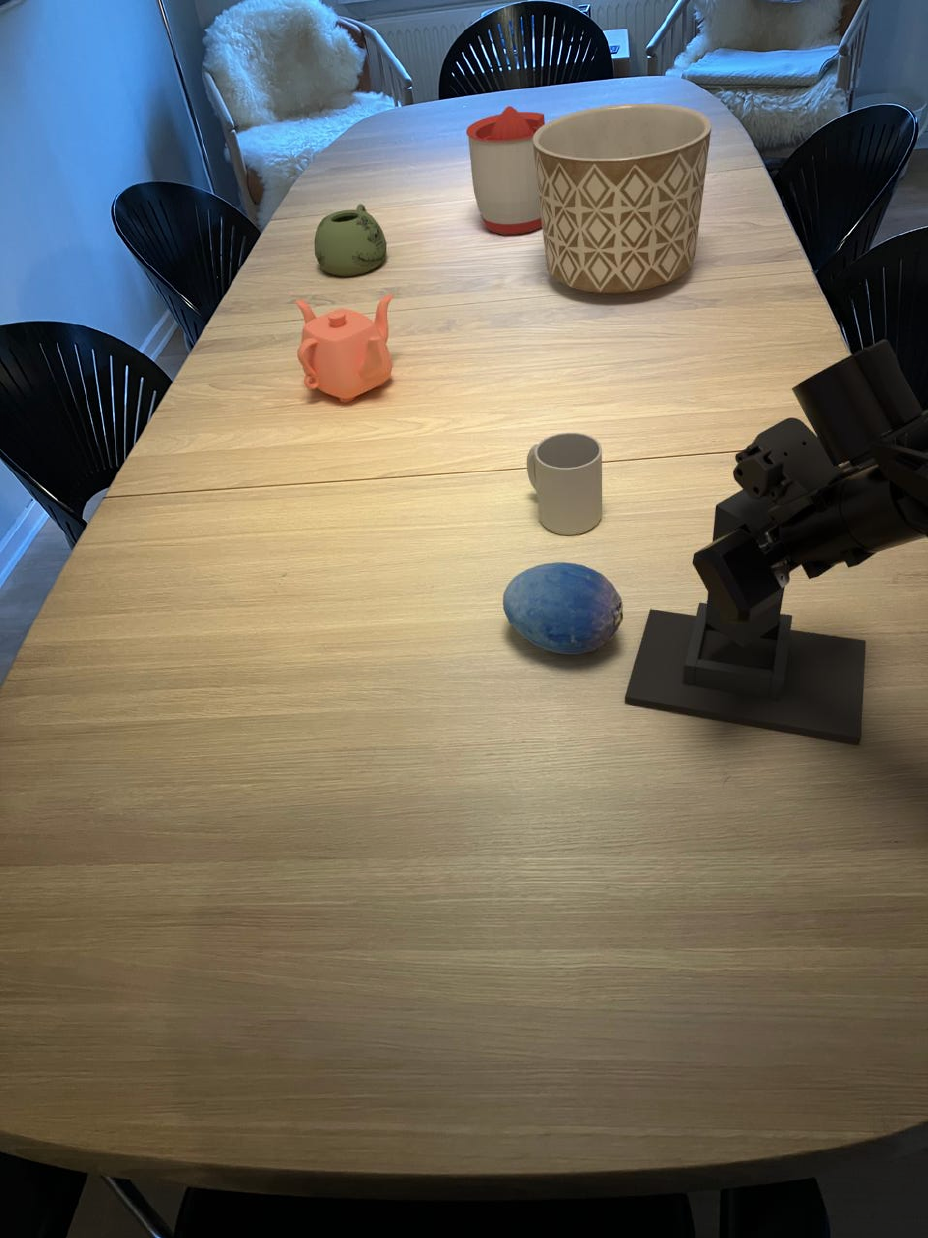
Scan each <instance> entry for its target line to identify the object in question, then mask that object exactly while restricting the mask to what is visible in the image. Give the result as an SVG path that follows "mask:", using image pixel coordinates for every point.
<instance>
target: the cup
mask: <svg viewBox="0 0 928 1238" xmlns="http://www.w3.org/2000/svg"><path fill="white" fill-rule="evenodd" d="M526 455H527V456H526V462H525V463H526V472H527V476H528V480H529V481H530V484H531V486H532V488H533V489H534V491H535V492H536V494H537V509H538V517H539V520H540V522H541V524H542V525H543V526H544V528H546V529H548V531H550V532H553V533H554V534H558V535H563V536H564V535H565V536H575V535H580V534H583V533H587V532H588V531H590V530H592V529H593V528H595V527H596V526H597V525H598V524H599V523H600V520H601V519H602V516H603V448H602V445H601V443H600V442H599V441H598V439H596V438H594V437H593V436H592V435H588V434H585V433H580V432H562V433H556V434H552V435H550V436H548V437H546V438H544V439H543V440H541V441H540V442H539V443H538V444H536V443H535V444H534V445H532V446H531V447H530V449H529V451H528V452H527V454H526Z"/></svg>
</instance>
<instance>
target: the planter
mask: <svg viewBox="0 0 928 1238" xmlns="http://www.w3.org/2000/svg"><path fill="white" fill-rule="evenodd" d="M711 134H712V122H711V120H710V118H709V117H708V116H707V115H705V114H704V113H702V112H700V111H698V110H695V109H692V108H689V107H685V106H680V105H674V104H664V103H623V104H612V105H605V106H597V107H591V108H587V109H582V110H579V111H575V112H572V113H567V114H565V115H562V116H559V117H557V118H555V119H552V120H550V121H548V122H545V125H543V126H542V127H540V128H539V129H538V130H537V131H536V132H535V134H534V136H533V149H534V157H535V166H536V175H537V184H538V193H539V202H540V211H541V220H542V228H541V229H542V238H543V246H544V254H545V255H544V256H545V261H546V262H545V265H546V268H547V270H548V273H549V274H550V275H551V276H552V277H553V278H554V280H556V281H557V282H559V283H560V284H562V285H564V286H567V287H570V288H572V289H577V290H581V291H585V292H590V293H593V294H594V293H595V294H598V295H609V296H610V295H611V296H612V295H613V296H619V295H630V294H636V293H639V292H644V291H647V290H649V289H653V288H656V287H660V286H662V285H665V284H668V283H670V282H673V281H674V280H676V279H678V278H679V277H681V276H682V275H684V274H685V273H686V272H687V271H688V270H689V269H690V268H691V266H692V265H693V263H694V261H695V258H696V253H697V252H696V251H697V244H698V235H699V228H700V222H701V221H700V220H701V212H702V205H703V204H702V203H703V197H704V189H705V181H706V173H707V165H708V158H709V151H710V149H709V148H710V142H711Z"/></svg>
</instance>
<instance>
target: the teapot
mask: <svg viewBox="0 0 928 1238" xmlns="http://www.w3.org/2000/svg"><path fill="white" fill-rule="evenodd" d="M393 297H394V293H389V294H387V295H385V296H383V297H382V298H381V299H380V300H379V302H378V304H377V307H376V310H375V311H376V312H375V318H374V321H373V320H372V319H371V318H370V317H368V316H367V315H365V314H363V313H360V312H357V311H355V310H351V309H348V308H338V309H335V310H332V311H330V312H327V313H325V314H323V315H321V316H317V317H316V313H314V311H313V309H312V308H311V307H310V305H309V304H308V303H307V302H306V301H304V300H302V299H296V300H295V304H296V306H298V309H299V310H300V311H301V314H302V316H303V319H304V324H303V326H302V330H301V339H300V340H301V342H300V345H299V346H298V348H297V351H296V355H297V359H298V362H299V364H300V365H301V366H302V370H303V372H304V375H305V376H304V378H303V384H304V386H305V387H306V389H310V390H315V389H316V388H317V389H318V390H319V391H321V392H323V393H325V394H328V395H329V396H330V395H331V396H333V397H336V398H339V402H341V403H350V402H352V401H354V400H355V398H356V397H357V396H359V395H362V394H364V393H366V392H368V391H370V390H372V389H374V388H379V387H382V386H383V385H384V384H385V382H386V381H388V380H390V377H391V375H392V370H393V362H392V357H391V353H390V351H389V348H388V345H387V342H388V340H389V322H388V308H389V305H390V302H391V300H392V299H393Z"/></svg>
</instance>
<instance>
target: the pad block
mask: <svg viewBox="0 0 928 1238" xmlns="http://www.w3.org/2000/svg"><path fill="white" fill-rule="evenodd" d="M776 506H778V504H777V503H775V502H773V501H771V500H770V499H769V498H768V497H762V498H761V499H759V500H755V499H752V498H751V497H750V496H749V495H748V494H747V493H746V492H745V491H744V490H743V488H741V490H739V491H737V492H735V493H734V494H732V495H731V496H728V497H727V498H725V499H724V500H722V501H720V502H719V503H717V504H716V505H715V510H714V522H713V533H712V542H714V541H715V540H717V539H719V538H721V537H723V536H725V535H726V534H728V533H730V532H731V531H733V530H735V529H736V528H738V527H740V526H741V525H743V524H745V523H746V524H747V526H748V528H749V530H750V532H751V534H752V535H753V536H754V538H755V539H756V541H758V542H759V544H760V545H759V546H761V545H763V544H766V543H769V542H768V540H767V539H766V537H765V533H766V532H767V531H769V530H770V529H772V528H774V527H775V526H774V524H773V522H772V521H771V519H770V517H769V515H768V513H767V511H769V510H770V509H772V508H774V507H776ZM779 542H781V540H778V541H777V542H774V544H770V543H769V545H770V547H773V546H774V545H776V544H778V543H779ZM788 557H789V556H787V557H785V558H784V559H782V560H781V561H779V563H780V562H782V561H783V560H785V559H786V558H788ZM777 567H780V565H778V566H777ZM777 567H776V568H777ZM785 588H786V586H785V587H783V588H782V592H781V598H780V601H779V602H778V603H776V604H775V605H773V606H772V607H770V608H769V609H767V610H766V611H764V612H763V613H761V614H760V615H758V616H757V617H755V618H754V619H752V620H751V621H749V622H746V623H742V624H738V625H731V624H728V623H725V622H724V620H723V618H722V616H721V615H720V613H719V611H718V609H717V607H716V605H715V604H714V602H713V600H712V598H711V596H710V594H709V593H708V592H707V599H706V603H707V608H706V619H705V622H706V623H708V624H709V625H711V626H712V627H714V628H715V629H716V630H718V631H719V632H721V633H722V634H724V635H725V636H727V637H728V638H730V639H731V640H733V641H734V642H735V643H737V644H738V645H740V646H741V647H743V648H744V647H746V646H747V645H749V644H750V643H751V642H753V641H754V640H756V639H757V638H759V637H760V636H762V635H763V634H765V633H766V632H768V631H769V630H771V629H772V628H774V627H775V626H777V625H778V624H779V619H780V614H782V612H781V611H782V606H783V600H784V594H785Z"/></svg>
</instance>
